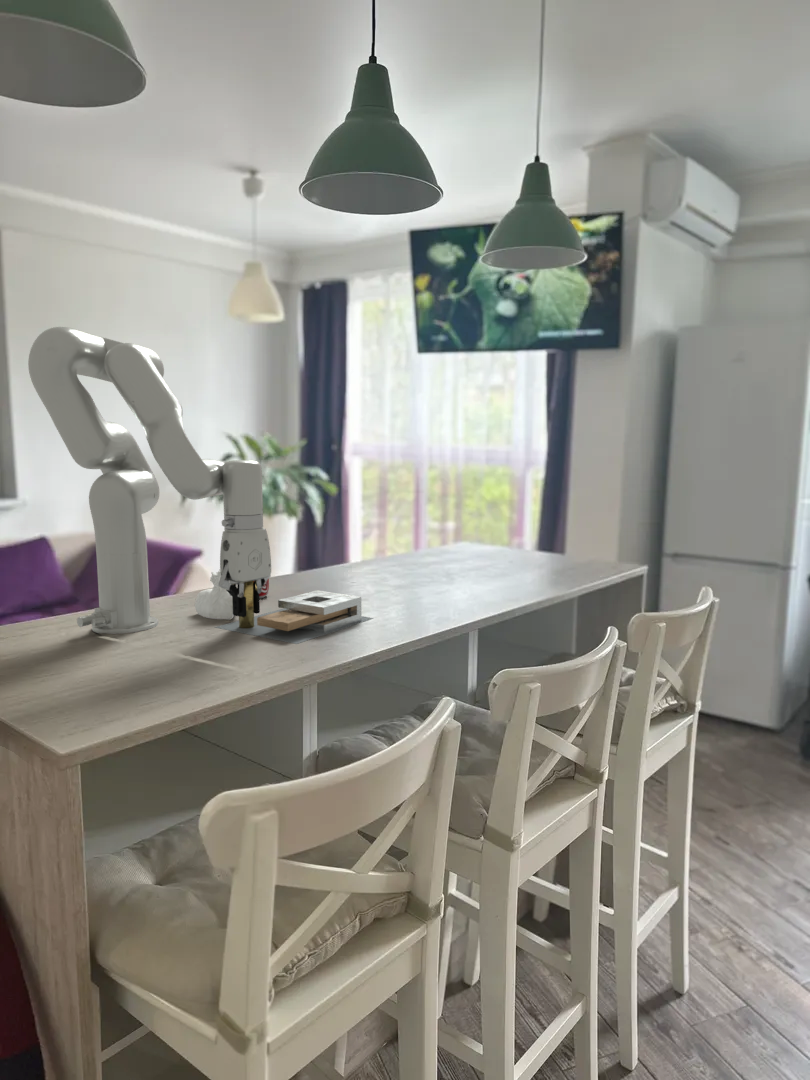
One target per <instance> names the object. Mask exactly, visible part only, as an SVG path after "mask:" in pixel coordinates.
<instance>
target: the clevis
mask: <svg viewBox="0 0 810 1080" xmlns="http://www.w3.org/2000/svg"><path fill="white" fill-rule="evenodd" d="M277 606H278V608H280V609H284V608H285V609H287V610H283V611H280V612H276V613H272V614H269V615H265V616H261V617H258V618H257V625H259V626H264V627H269V628H274V629H280V630H285V631H290V630H294V629H297V628H302V629H307V630H312V631H318V632H323V633H325V632H328V631H331V630H334V629H337V628H340V627H343V626H346V625H349V624H352V623H355V622H358V621H361V620H362V617H361V616H362V596H358V595H353V594H351V595H350V594H346V593H344V594H343V593H339V592H338V593H337V592H330V591H325V590H312V591H310V592H305V593H301V594H298V595H293V596H289V597H286V598H285V597H284V598H281V599H278V601H277Z"/></svg>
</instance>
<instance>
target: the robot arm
mask: <svg viewBox="0 0 810 1080" xmlns="http://www.w3.org/2000/svg"><path fill="white" fill-rule="evenodd" d="M27 368H28V372H29V373H28V374H29V378H30V381H31V382H32V386H33V388H34V390H35V392H36V394H37V395H38V397H39V399H40V400H41V402H42V404H43V405H44V408H45V409H46V411H47V412H48V414H49V416H50V418H51V420H52V422H53V424H54V427H55V428H56V430H57V432H58V433H59V436H60V438H61V439H62V441H63V443H64V445H65V447H66V448H67V450H68V452H69V453H68V454H70V456H71V458H72V459H73V461H74V462H75V463H76V464H77V465H79V466H80V467H81V468H84V469H86V470H100V471H101V473H102V474H101V475H100V476H98V477H97V478H96V479H95V480H94V481H93V483H92V484H91V486H90V489H89V493H88V504H89V510H90V515H91V518H92V523H93V528H94V529H93V530H94V539H95V552H96V554H95V555H96V566H97V567H96V568H97V569H96V573H97V587H98V591H97V592H98V606H99V607H96V608H95V607H94V608H93V609H94V612H92V613H91V614H89V615H83V616H78V617H77V619H76V623H77V626H78V627H80V628H81V627H87V626H90V625H91V630H92V632H94V633H96V634H118V635H119V634H131V633H138V632H142V631H146V630H151V629H153V628H155V627H157V626H158V625H159V619H158V617H156V616H152V615H151V608H150V607H151V606H150V605H151V603H150V588H149V587H150V584H149V563H148V546H147V545H148V544H147V533H146V528H145V523H144V520H143V515H142V514H146V513H148V512H149V511H151V510H153V508H154V507H156V505H157V503H158V501H159V499H160V486H159V482H158V480H157V478H156V476H155V474H154V472H153V470H152V468H151V466H150V465H149V463H148V461H147V458H145V455H144V453H143V452H142V450H141V447H140V446H139V444H138V443H137V441H136V439H135V437H134V436H133V435H132V433H131V432H130V431H129V430H128V429H126V427H124V426H123V425H121V424H119V423H117V422H112V421H106V420H105V418H104V417H103V415H102V414H101V413H100V411H99V409H98V407H97V405H96V403H95V402H94V399H93V396H91V393H89V391H88V390H87V389H86V387H85V386H84V385H83V384H82V382H81V381H80V379H79V377H78V376H85V377H89V378H93V379H98V380H102V381H105V382H109V383H112V384H113V386H114V387H115V389H116V390H117V391H118V393H119V394H120V396H121V397H122V398H123V400H124V401H125V403H126V405H127V407H129V408H130V411H131V412H132V413H133V415H134V417H135V418H136V419H137V421H138V422H139V424H140V426H141V427H142V429H143V431H144V435H145V439H146V441H147V443H148V445H149V448H150V451H151V454H152V455H153V458H154V459H155V461H156V463H157V465H158V467H159V468H160V470H161V471H162V472H163V474H164V476H165V477H166V478H167V479H168V481H169V483H170V484H171V485H172V487H173V488H174V489H175V491H176V492H177V493H179V494H180V495H181V496H182V497H184V498H186V499H189V500H194V501H195V500H201V499H205V498H209V497H210V498H212V497H216V496H222V495H223V497H222V498H223V499H222V500H223V518H224V519H222V520H221V526H222V527H224V531H222V535H221V542H220V554H219V555H220V556H219V569H220V573H221V578H220V581H219V587H221V588H223V589H226V590H227V591H228V592H229V595H230V596H232V601H233V615H234V617H238V618H239V617H246V597H243V595H244V582H249V581H254V583H253V594H254V614H256V615H257V614H260V610H261V608H260V599H259V593H261V592H262V587H263V585H264V583H265V582H266V581H267V580H268V579H269V580H270V578H271V574H272V555H271V547H270V546H271V545H270V541H269V540H270V539H269V536H268V532H267V528H264V515H263V514H264V509H263V508H264V507H263V470H262V465H261V464H260V462H259V461H256V460H252V459H250V460H249V459H247V460H245V459H239V460H238V459H237V460H219V459H213V458H212V459H211V458H201V456H200V455H199V453H198V452H197V449H195V448H194V446H193V443H192V442H191V441H190V439H189V437H188V436H187V434H186V432H185V429H184V426H183V414H184V413H183V406H182V403H181V402H180V401H179V399H178V398H177V397H176V395H175V394H174V392H173V390H172V389H171V388H170V386H169V385H168V383H167V382H166V380H165V379H164V375H165V367H164V364H163V361H162V359H161V358H160V356H159V355H158V353H156V352H155V351H154V350H153V349H150V348H148V347H146V346H143V345H142V346H141V345H139V344H136V343H132V342H122V341H117V340H114V339H109V338H107V337H103V336H100V335H96V334H92V333H89V332H85V331H82V330H79V329H76V328H72V327H68V326H67V327H66V326H55V327H51V328H48V329H46V330H44V331H42V332H41V333H40V334H39V335H38V336H36V338H35V340H34V342H33V343H32V345H31V347H30V350H29V354H28V367H27ZM229 581H230V583H229Z"/></svg>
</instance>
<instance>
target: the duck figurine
mask: <svg viewBox="0 0 810 1080" xmlns="http://www.w3.org/2000/svg"><path fill="white" fill-rule="evenodd" d="M220 578H221V573H220V568H219V570H218V571H217V572H213V571H211V577H210V583H212V585H213V587H212V588H208V589H204V590H200V592H198V593H197V595H196V598H195V603H194V609H195V612H196V614H197V615H199V616H201V617H203V618H206V619H207V618H208V619H212V620H213V619H214V620H228V621H229V620H233V618H234V617H235V616H234V615H233V601H232V596H230V595H229V592H228V591H227V590H226V589H223V588H221V587H219V581H220ZM229 583H230V581H229Z"/></svg>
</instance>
